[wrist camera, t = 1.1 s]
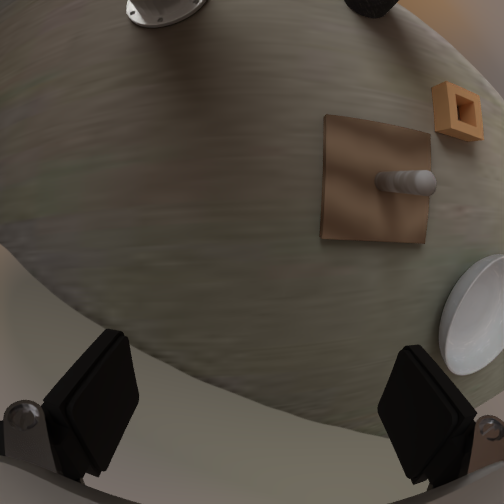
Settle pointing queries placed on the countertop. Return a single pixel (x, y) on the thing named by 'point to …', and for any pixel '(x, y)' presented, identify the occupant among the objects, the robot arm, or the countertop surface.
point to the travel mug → (371, 7)
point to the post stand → (375, 181)
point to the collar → (446, 112)
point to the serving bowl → (474, 318)
